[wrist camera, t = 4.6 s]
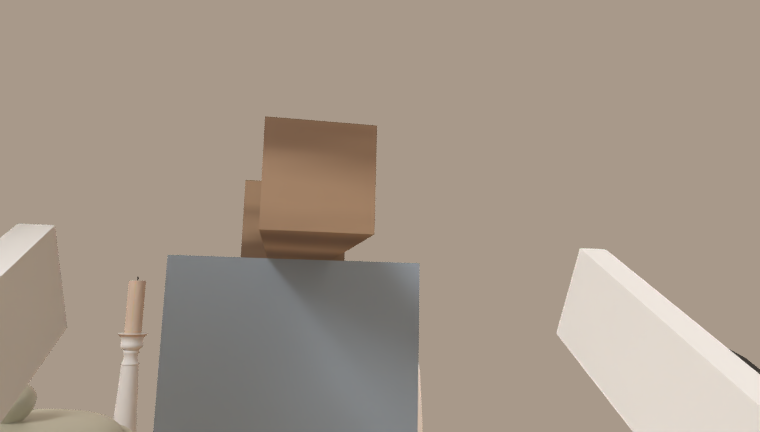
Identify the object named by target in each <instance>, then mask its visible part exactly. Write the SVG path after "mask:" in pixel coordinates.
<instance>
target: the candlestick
mask: <svg viewBox="0 0 760 432" xmlns="http://www.w3.org/2000/svg"><path fill="white" fill-rule="evenodd" d="M138 279H139V278H138ZM145 285H146V281H138V280H137V281H136V280H133V281H132V280H130V281H129V287H128V298H127V308H126V320H125V330H124V333H118V335H119V336H120V337H121V344H120V347H121V348H122V349H123V350H124V351H123V354H124V359H123V361H122V363H121V372H120V379H119V385H118V392H117V399H116V406H115V413H114V420H115V421H116V422H118V423H119V424H120V425H123V426H126V427H128V428H129V429H130V430H132V432H136V424H137V394H138V365H139V362H138V359H137V356H138V353H139V349H140V348H142V347H143V338H144V337H145V335H147V334H148V333H142V332H141V331H142V319H143V308H144V296H145Z"/></svg>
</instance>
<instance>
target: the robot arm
mask: <svg viewBox="0 0 760 432" xmlns="http://www.w3.org/2000/svg"><path fill="white" fill-rule="evenodd" d="M58 256H59V255H58V247H57V239H56V231H55V225H38V224H37V225H35V224H17V225H16V226H15V227H13V228H12V229H11V230H9V231H8V232H7V233H6V234H5V235H3V236H2V237H1V238H0V424H1V422H2V421H3V419H4V418H5V416H6V415H7V414H8V412H9V411H10V409H11V408H12V406H13V405H14V403H15V402H16V401H17V399H18V398H19V396H20V395H21V393H22V392H23V390H24V389H25V388H26V386H27V385H28V383H29V382H30V380H31V379H32V377H33V376H34V375H35V373H36V372H37V370H38V369H39V367H40V366H41V364H42V363H43V362H44V360H45V358H46V357H47V356H48V354H49V353H50V351H51V350H52V348H53V347H54V345H55V344H56V343H57V341H58V340H59V338H60V337H61V336H62V334H63V333H64V331H65V330H66V328H67V322H66V314H65V306H64V297H63V290H62V280H61V272H60V264H59V257H58ZM557 335H558V336H559V337H560V339H561V340H562V341H563V342H564V344H565V345H566V346H567V348H568V349H569V350H570V352H571V353H572V354H573V355H574V357H575V358H576V359H577V361H578V362H579V363H580V364H581V366H582V367H583V368H584V370H585V371H586V372H587V373H588V375H589V376H590V377H591V379H592V380H593V381H594V382H595V384H596V385H597V386H598V387H599V389H600V390H601V391H602V393H603V394H604V395H605V397H606V398H607V399H608V400H609V402H610V403H611V404H612V405H613V407H614V408H615V409H616V411H617V412H618V413H619V414H620V416H621V417H622V418H623V420H624V421H625V422H626V424H627V425H628V426H629V427H630V429H631V430H632V431H633V432H760V369H758V368H757V367H756V366H755V365H754V364H752V363H751V362H750V361H748V360H747V359H746V358H744V357H743V356H741V355H739V354H737V353H735V352H734V351H731V350H730V349H728V348H726V347H725V346H724V345H723V344H722V343H720V342H719V341H718V340H717V339H716V338H714V337H713V336H712V335H711V334H709V333H708V332H707V331H706V330H704V329H703V328H702V327H701V326H700V325H698V324H697V323H696V322H695V321H693V320H692V319H691V318H690V317H688V316H687V315H686V314H685V313H683V312H682V311H681V310H680V309H678V308H677V307H676V306H675V305H674V304H672V303H671V302H670V301H669V300H667V299H666V298H665V297H664V296H663V295H661V294H660V293H659V292H658V291H656V290H655V289H654V288H653V287H651V286H650V285H649V284H648V283H646V282H645V281H644V280H643V279H641V278H640V277H639V276H638V275H637V274H635V273H634V272H633V271H632V270H630V269H629V268H628V267H627V266H625V265H624V264H623V263H622V262H621V261H619V260H618V259H617V258H616V257H614V256H613V255H612V254H611V253H609V252H608V251H607V250H606V249H587V248H586V249H585V248H580V250H579V254H578V258H577V261H576V265H575V268H574V272H573V276H572V279H571V283H570V287H569V290H568V294H567V297H566V301H565V304H564V308H563V311H562V315H561V319H560V322H559V326H558V330H557Z"/></svg>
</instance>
